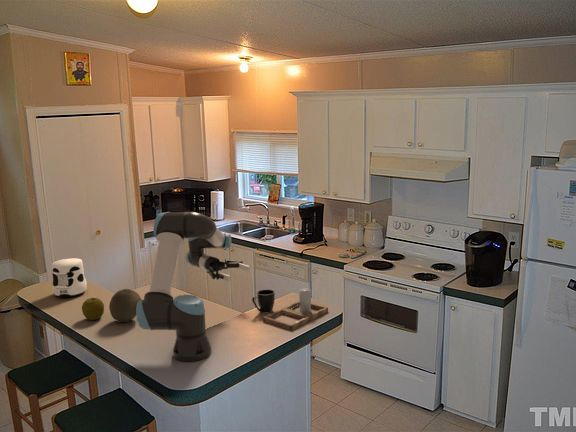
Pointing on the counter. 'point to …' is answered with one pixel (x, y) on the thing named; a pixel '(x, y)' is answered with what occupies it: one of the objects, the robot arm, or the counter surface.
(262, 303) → the mug
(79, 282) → the white trooper helmet
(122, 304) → the cantaloupe
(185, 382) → the counter surface
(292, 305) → the frame
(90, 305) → the apple
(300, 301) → the grey upright cylinder
